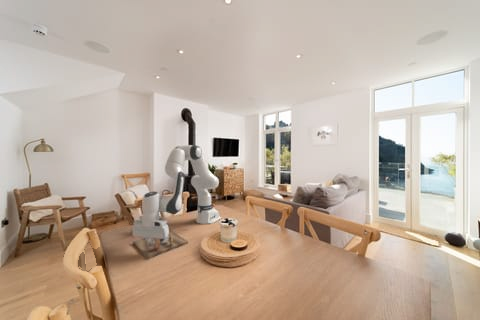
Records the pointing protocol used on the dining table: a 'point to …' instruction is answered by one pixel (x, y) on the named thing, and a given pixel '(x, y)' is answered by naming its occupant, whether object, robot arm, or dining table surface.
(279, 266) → the dining table surface
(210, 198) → the robot arm
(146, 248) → the walnut board
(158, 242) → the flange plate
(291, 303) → the dining table surface
